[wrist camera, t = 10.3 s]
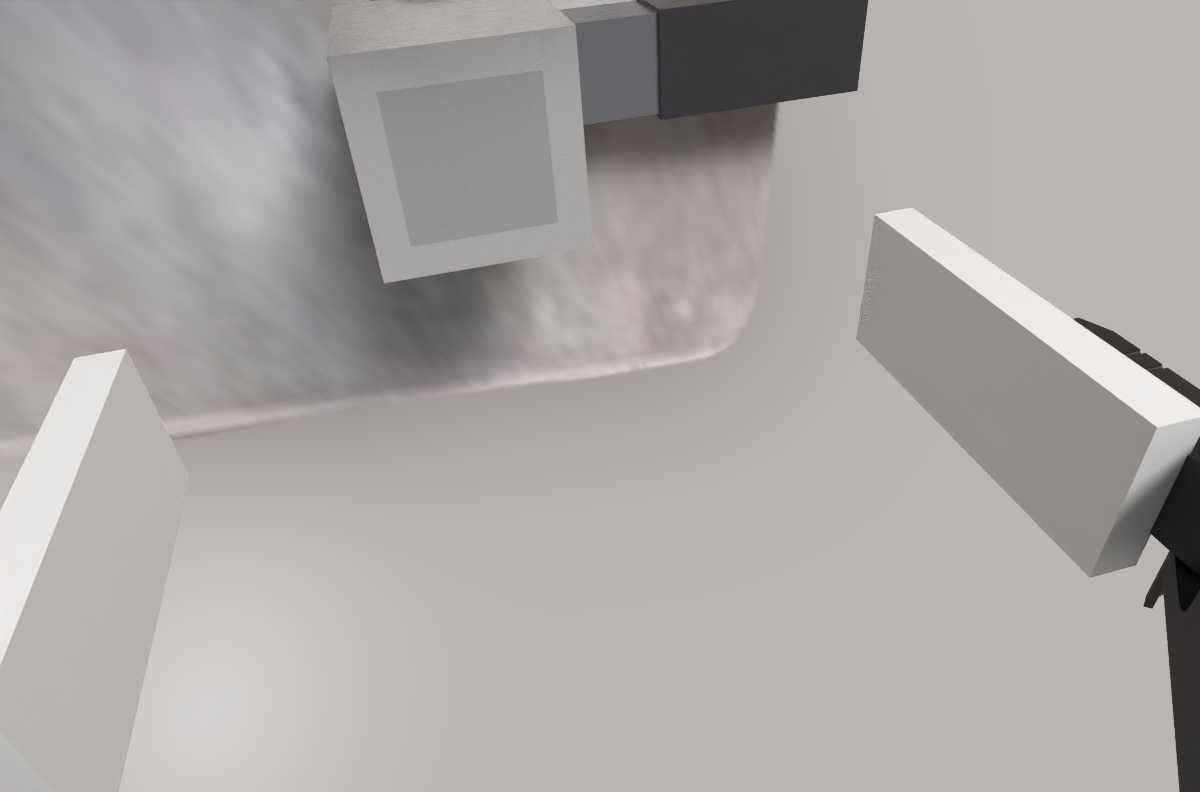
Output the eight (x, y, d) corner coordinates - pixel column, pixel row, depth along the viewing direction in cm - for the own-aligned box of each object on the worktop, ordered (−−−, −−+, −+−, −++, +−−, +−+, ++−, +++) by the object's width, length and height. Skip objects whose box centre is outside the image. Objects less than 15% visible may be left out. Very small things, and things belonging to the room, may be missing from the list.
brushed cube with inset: (377, 196, 30) (383, 283, 24) (331, 5, 26) (326, 56, 20) (548, 169, 31) (592, 247, 25) (528, -18, 27) (575, 25, 21)
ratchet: (372, 180, 32) (377, 263, 26) (324, -18, 28) (317, 27, 22) (821, 112, 35) (918, 172, 29) (839, -76, 31) (957, -50, 25)
